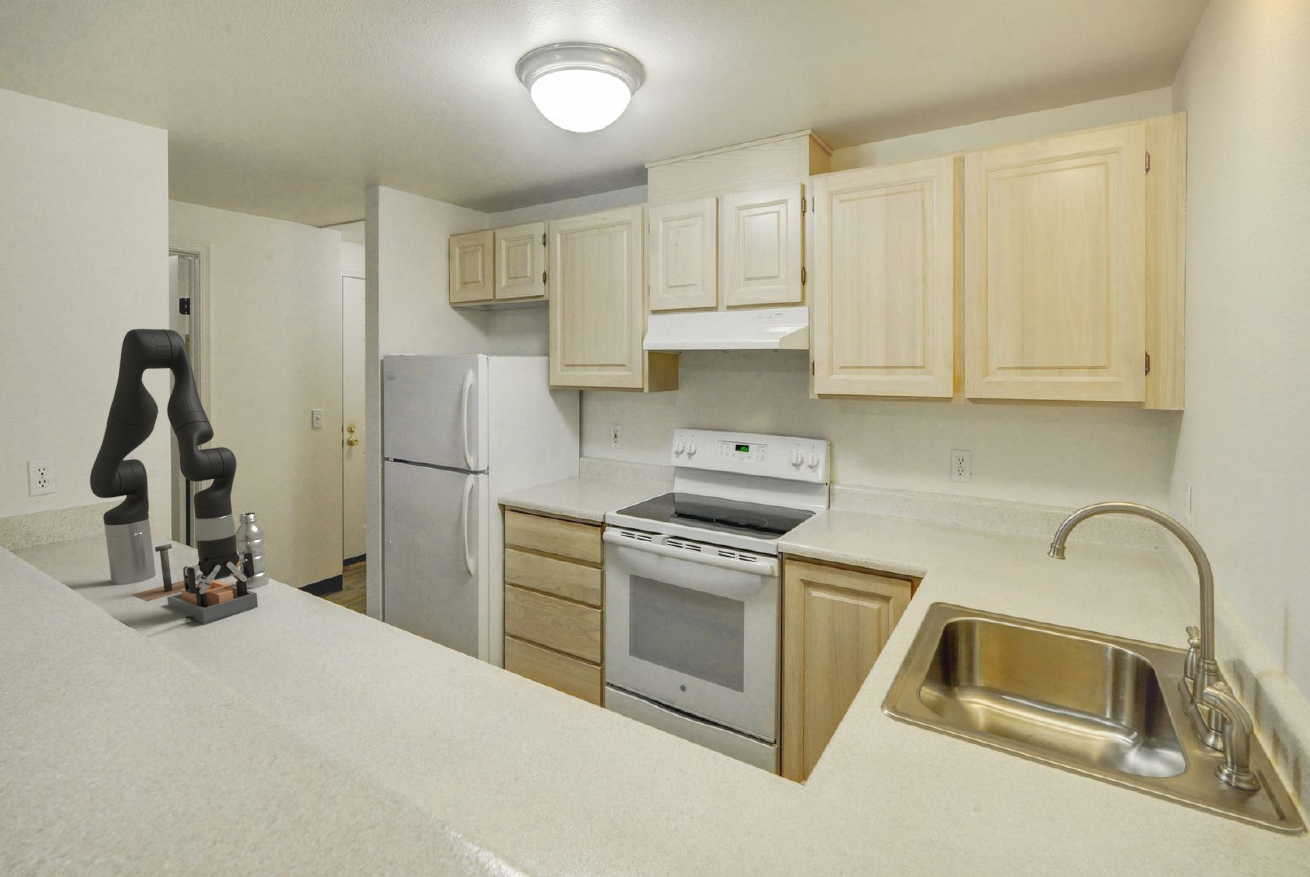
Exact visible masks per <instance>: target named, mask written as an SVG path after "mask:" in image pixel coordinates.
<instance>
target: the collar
mask: <svg viewBox="0 0 1310 877" xmlns="http://www.w3.org/2000/svg"><path fill="white" fill-rule="evenodd" d="M232 586H233V585H232V584H231V583H227V582H224V581H220V580H218V579H213V581H212V583H211V584H210V585H209V586H208V588H207V589H206V591H205V593H207V602H208V607H210V606H213V605H216V604H219V603H223V602H226V601H229V600H232V599H235V597H234V596H233V588H232ZM181 593H182V599H183V600H184V601H187V602H189V603H192V604H195V605H197V600H196V594H191V593H188V592H186V591H185V589H182V592H181Z"/></svg>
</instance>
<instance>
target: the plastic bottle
mask: <svg viewBox="0 0 1310 877" xmlns="http://www.w3.org/2000/svg"><path fill="white" fill-rule="evenodd" d="M238 517H239V523H240V525H239V526H238V528H237V530H235V534H236V544H237V551H238V552H237V553H238V555H239V554H242V552H244V551H245V552H249V553H252V557H253V566H254V576H253V577H250V578H248V579H247V580H246V585H247V590H252V589H258V588H261V587H265V586H267V585H269V579H270V578H269V574H268V571H267V568H266V563H265V556H264V542H265V532H264V529H263V528H262V527H261V526H260V525H259V524H258V523H257V521H258V518H257V514H256V512H244V513H240V514H239V516H238ZM239 570H240V571H241V572H242V574H243V573H244V571H243V563H242V562H241V561H240V566H239ZM266 578H267V579H266Z"/></svg>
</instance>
